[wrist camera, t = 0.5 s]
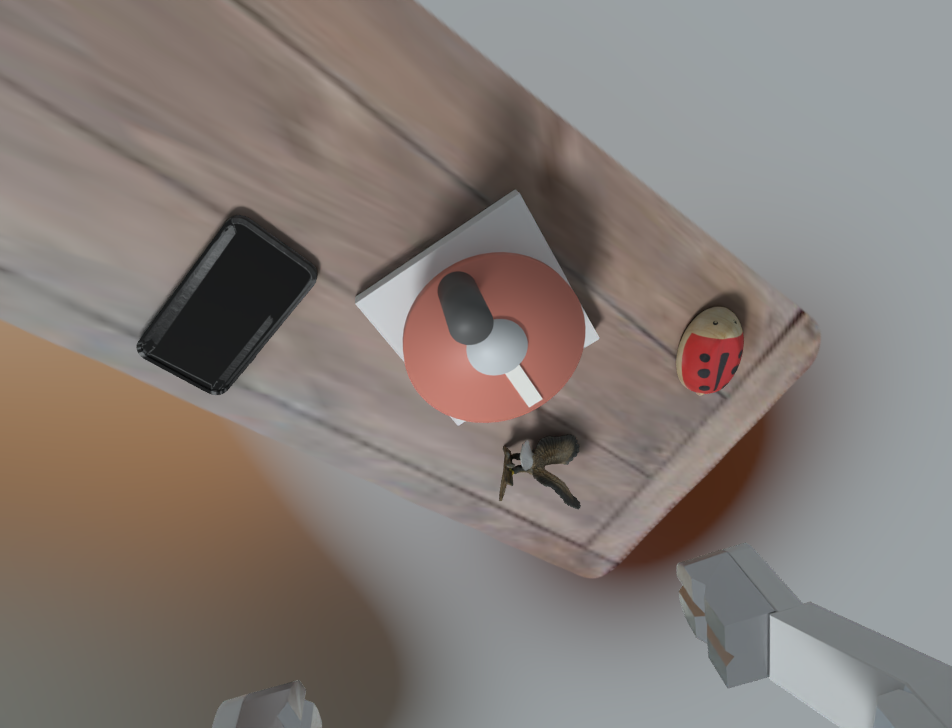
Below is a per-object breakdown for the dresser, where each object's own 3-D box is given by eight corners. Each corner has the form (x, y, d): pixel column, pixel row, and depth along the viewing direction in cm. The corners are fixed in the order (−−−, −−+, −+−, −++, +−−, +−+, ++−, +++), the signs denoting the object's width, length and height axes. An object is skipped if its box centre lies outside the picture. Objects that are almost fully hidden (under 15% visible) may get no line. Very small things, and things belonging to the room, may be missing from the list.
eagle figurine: (493, 494, 58) (573, 504, 58) (502, 507, 51) (593, 518, 51) (502, 425, 58) (581, 435, 59) (512, 427, 51) (602, 440, 52)
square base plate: (355, 296, 45) (354, 318, 41) (515, 189, 43) (529, 201, 39) (455, 416, 53) (462, 444, 49) (593, 331, 51) (612, 353, 47)
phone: (130, 351, 43) (233, 211, 39) (136, 345, 44) (236, 207, 40) (221, 400, 46) (323, 276, 43) (224, 393, 47) (324, 271, 44)
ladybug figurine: (741, 299, 52) (765, 314, 49) (724, 382, 57) (744, 400, 54) (679, 308, 52) (698, 324, 49) (667, 392, 57) (684, 411, 54)
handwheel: (606, 354, 46) (644, 400, 40) (465, 440, 48) (480, 497, 42) (528, 212, 39) (560, 242, 33) (363, 321, 41) (363, 369, 34)
